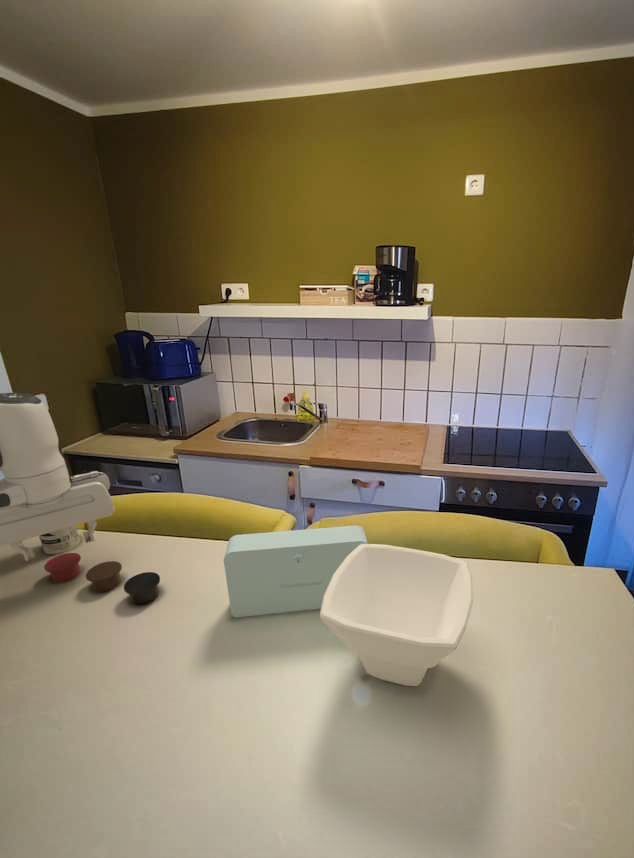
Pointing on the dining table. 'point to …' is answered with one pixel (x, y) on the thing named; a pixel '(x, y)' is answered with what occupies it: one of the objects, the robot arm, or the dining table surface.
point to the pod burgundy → (63, 567)
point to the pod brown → (105, 576)
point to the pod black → (143, 588)
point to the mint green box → (285, 568)
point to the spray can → (60, 540)
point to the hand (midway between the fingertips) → (61, 549)
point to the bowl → (399, 609)
